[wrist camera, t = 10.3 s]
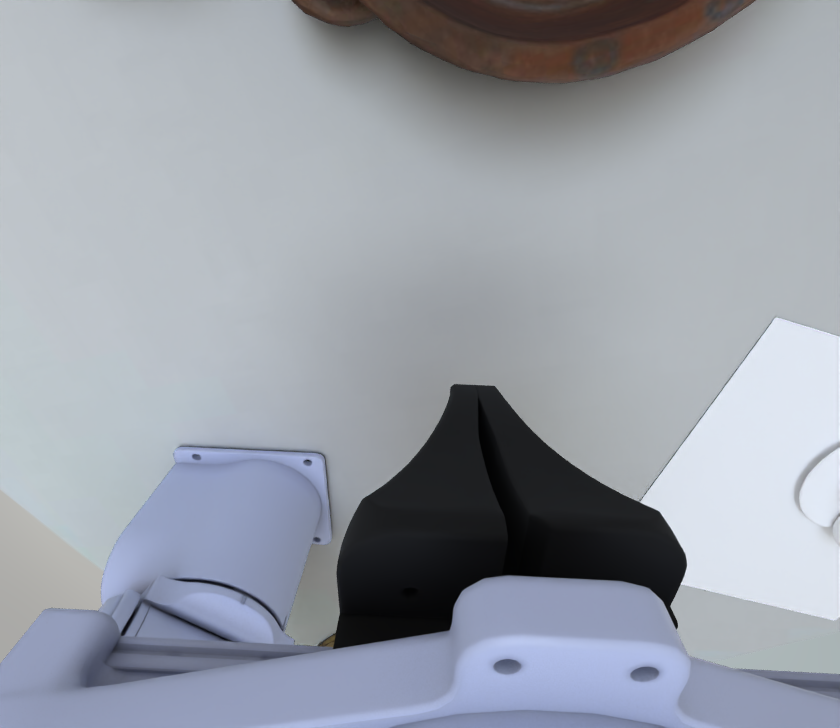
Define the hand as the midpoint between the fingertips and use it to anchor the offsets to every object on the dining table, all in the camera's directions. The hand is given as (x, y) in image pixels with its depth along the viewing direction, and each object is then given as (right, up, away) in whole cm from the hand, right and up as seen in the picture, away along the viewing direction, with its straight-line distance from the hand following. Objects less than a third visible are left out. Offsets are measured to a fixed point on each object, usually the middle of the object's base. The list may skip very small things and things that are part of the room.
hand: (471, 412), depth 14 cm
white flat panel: (+23, -7, +15) cm, 28 cm away
